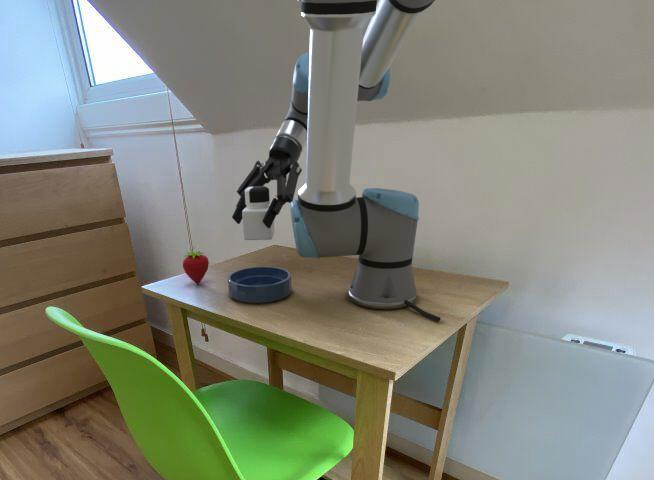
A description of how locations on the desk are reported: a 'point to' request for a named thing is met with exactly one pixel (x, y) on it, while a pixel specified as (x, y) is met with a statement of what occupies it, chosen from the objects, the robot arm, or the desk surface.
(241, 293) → the bowl
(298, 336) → the desk surface
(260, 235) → the medicine bottle
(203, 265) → the strawberry
